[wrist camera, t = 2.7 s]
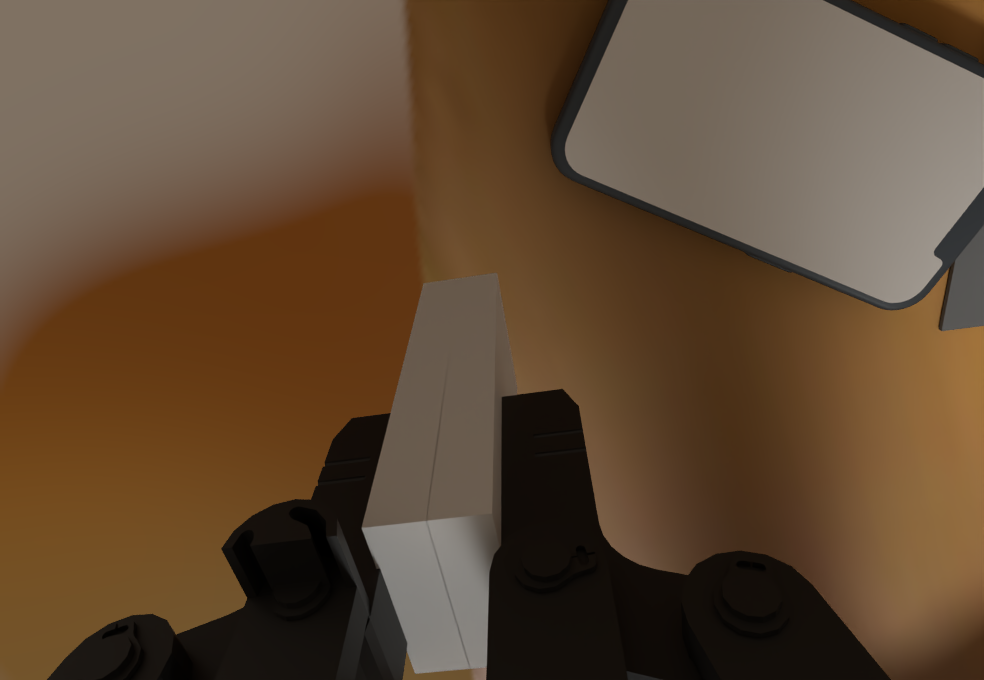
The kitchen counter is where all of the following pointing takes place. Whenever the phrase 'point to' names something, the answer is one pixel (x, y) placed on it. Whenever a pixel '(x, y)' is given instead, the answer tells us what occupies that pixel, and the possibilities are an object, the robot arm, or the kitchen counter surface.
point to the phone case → (786, 135)
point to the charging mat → (965, 288)
